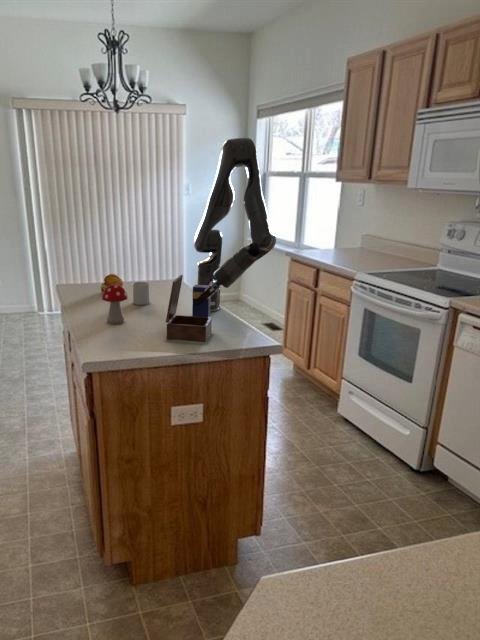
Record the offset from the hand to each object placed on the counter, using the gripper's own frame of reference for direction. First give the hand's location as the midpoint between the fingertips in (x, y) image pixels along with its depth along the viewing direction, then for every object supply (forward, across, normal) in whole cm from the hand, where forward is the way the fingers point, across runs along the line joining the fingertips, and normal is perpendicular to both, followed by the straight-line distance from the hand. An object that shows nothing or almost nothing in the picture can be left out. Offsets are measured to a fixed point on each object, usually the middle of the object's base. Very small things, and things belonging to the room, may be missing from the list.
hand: (196, 302), depth 199 cm
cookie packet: (+2, 0, +5) cm, 5 cm away
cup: (+30, -35, -16) cm, 49 cm away
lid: (+1, +12, -7) cm, 14 cm away
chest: (+7, +12, +7) cm, 16 cm away
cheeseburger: (+43, -51, -29) cm, 72 cm away
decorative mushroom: (+30, -1, -16) cm, 34 cm away
